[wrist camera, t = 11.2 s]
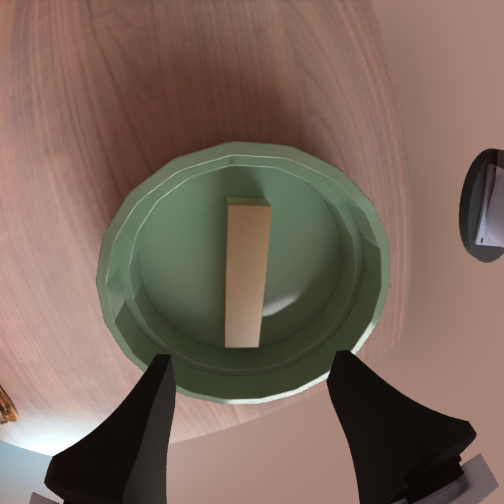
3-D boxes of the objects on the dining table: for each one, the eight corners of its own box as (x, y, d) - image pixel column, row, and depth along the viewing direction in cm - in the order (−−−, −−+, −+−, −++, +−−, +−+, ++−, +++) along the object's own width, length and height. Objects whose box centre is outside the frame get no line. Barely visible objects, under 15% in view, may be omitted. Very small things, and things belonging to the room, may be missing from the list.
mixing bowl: (367, 157, 16) (414, 166, 12) (329, 349, 22) (350, 393, 17) (120, 143, 14) (83, 146, 10) (141, 351, 20) (128, 398, 15)
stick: (265, 197, 16) (272, 205, 14) (255, 327, 19) (258, 347, 17) (227, 195, 16) (227, 204, 14) (223, 327, 19) (224, 348, 17)
